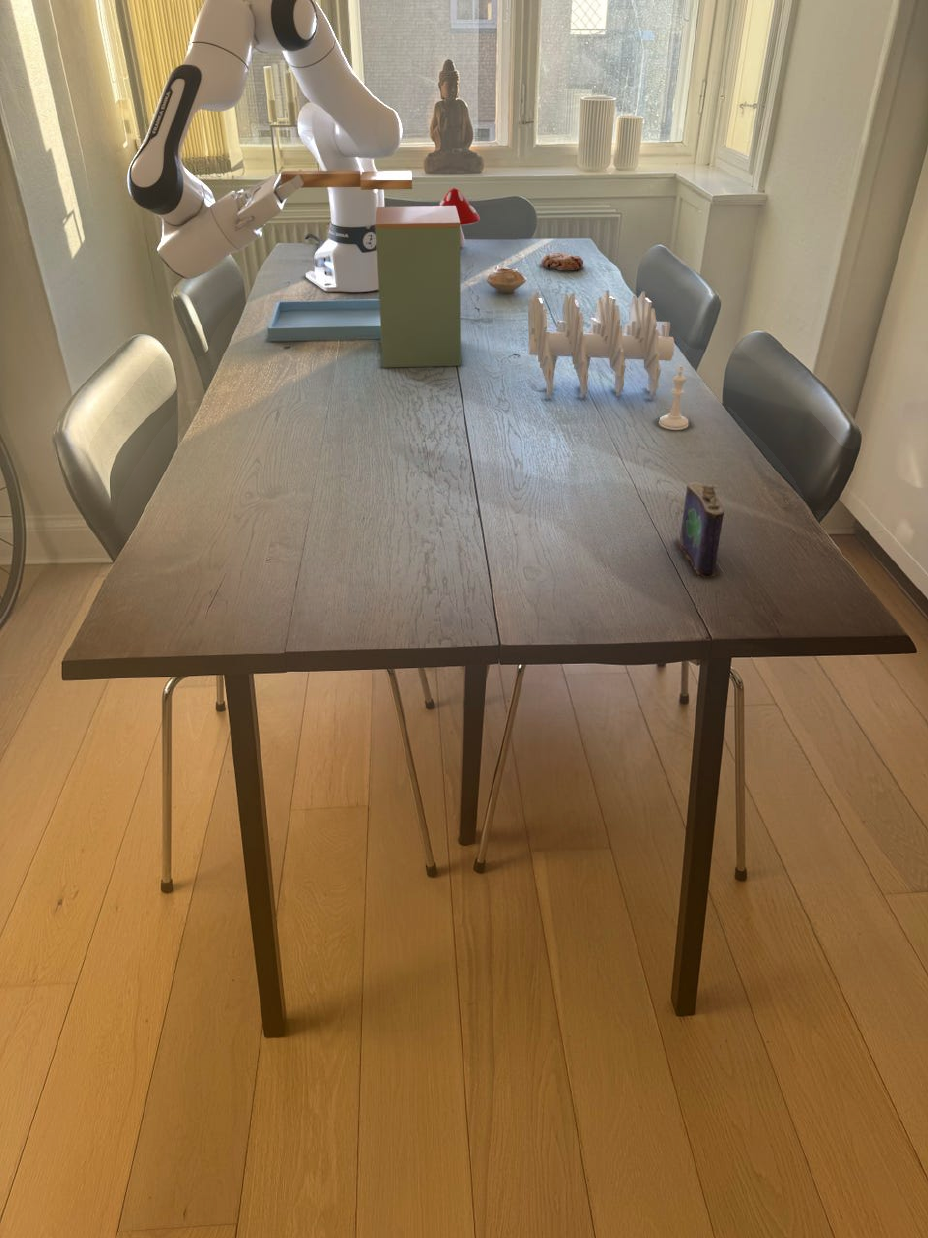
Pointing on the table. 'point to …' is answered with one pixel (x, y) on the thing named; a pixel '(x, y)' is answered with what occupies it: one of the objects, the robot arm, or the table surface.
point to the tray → (325, 320)
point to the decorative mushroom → (460, 209)
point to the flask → (701, 527)
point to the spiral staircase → (600, 339)
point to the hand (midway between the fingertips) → (302, 176)
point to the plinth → (419, 285)
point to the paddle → (352, 179)
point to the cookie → (562, 261)
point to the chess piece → (675, 407)
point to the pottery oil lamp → (505, 279)
